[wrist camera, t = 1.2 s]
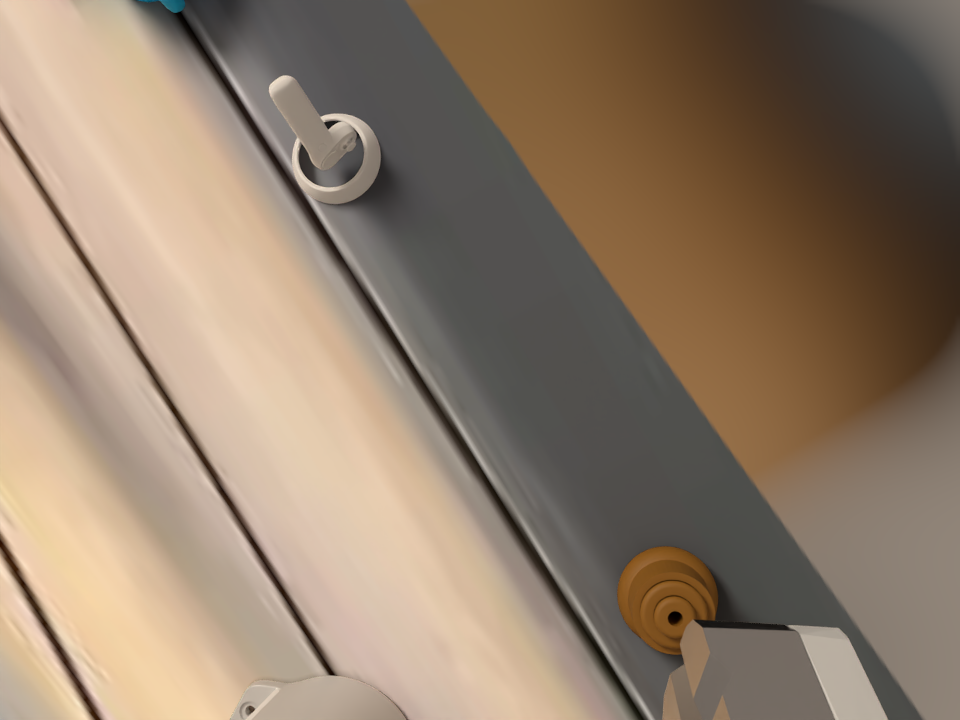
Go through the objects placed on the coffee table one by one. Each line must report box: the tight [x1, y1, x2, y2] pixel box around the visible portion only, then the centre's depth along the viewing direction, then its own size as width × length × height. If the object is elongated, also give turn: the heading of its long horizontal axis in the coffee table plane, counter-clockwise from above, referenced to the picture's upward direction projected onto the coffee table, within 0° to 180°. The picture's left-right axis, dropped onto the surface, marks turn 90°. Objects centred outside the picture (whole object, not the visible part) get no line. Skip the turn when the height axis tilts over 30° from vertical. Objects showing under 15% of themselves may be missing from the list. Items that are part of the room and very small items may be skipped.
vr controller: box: [269, 76, 381, 204], centre depth 68 cm, size 8×12×7 cm
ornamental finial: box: [617, 546, 718, 655], centre depth 61 cm, size 8×8×8 cm
